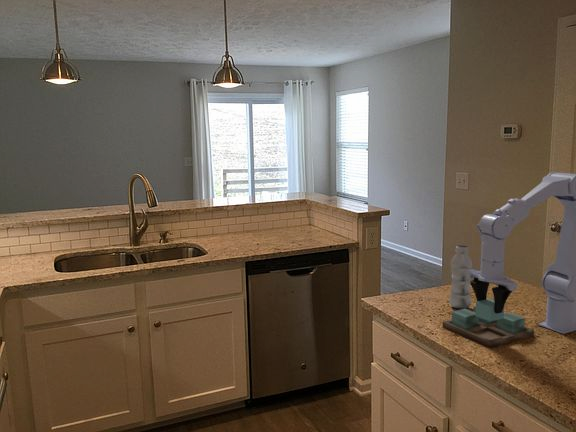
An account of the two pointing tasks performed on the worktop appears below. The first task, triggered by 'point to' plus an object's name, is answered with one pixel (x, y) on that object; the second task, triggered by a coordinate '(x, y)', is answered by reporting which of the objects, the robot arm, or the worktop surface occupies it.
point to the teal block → (487, 310)
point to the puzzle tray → (488, 328)
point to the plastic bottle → (460, 278)
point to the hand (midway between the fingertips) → (489, 309)
